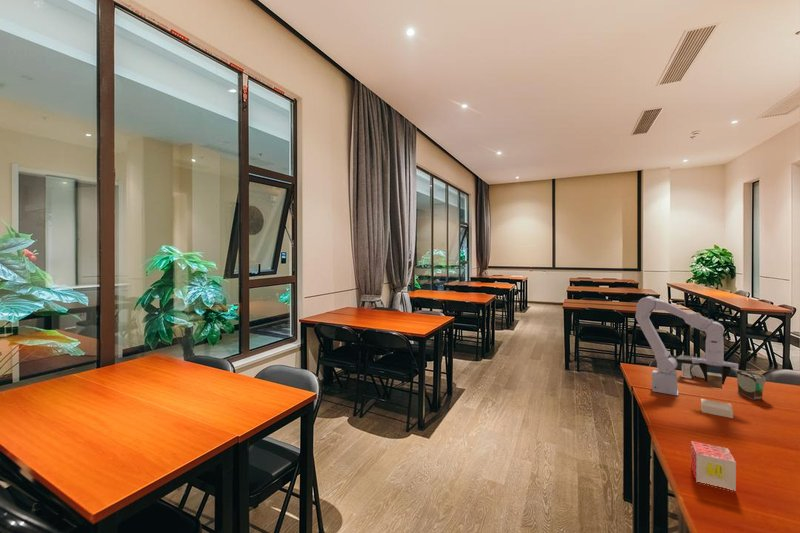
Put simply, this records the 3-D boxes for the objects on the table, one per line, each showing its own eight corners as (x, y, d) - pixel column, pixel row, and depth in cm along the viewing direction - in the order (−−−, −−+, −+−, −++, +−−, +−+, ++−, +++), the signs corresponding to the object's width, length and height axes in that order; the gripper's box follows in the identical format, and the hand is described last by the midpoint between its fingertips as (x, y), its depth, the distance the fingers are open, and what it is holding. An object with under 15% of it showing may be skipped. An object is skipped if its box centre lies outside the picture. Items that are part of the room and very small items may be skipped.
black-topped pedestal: (654, 378, 180) (654, 352, 180) (665, 367, 198) (665, 344, 198) (729, 392, 160) (729, 363, 159) (734, 379, 177) (734, 353, 177)
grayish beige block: (707, 386, 148) (707, 374, 148) (706, 383, 152) (706, 372, 152) (722, 388, 145) (722, 376, 145) (721, 385, 149) (721, 374, 149)
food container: (774, 402, 147) (774, 379, 147) (757, 401, 148) (757, 378, 148) (751, 392, 159) (751, 370, 159) (735, 391, 160) (735, 369, 160)
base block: (701, 413, 139) (701, 405, 139) (701, 405, 146) (701, 398, 146) (733, 419, 133) (733, 411, 133) (730, 411, 140) (730, 404, 140)
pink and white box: (696, 482, 95) (696, 453, 95) (690, 467, 102) (691, 440, 101) (736, 492, 91) (736, 462, 90) (727, 476, 97) (728, 448, 97)
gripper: (692, 350, 150) (692, 381, 150) (739, 355, 141) (739, 389, 141) (692, 346, 155) (691, 377, 155) (737, 352, 146) (737, 384, 146)
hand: (714, 382), depth 149 cm, fingers closed on grayish beige block, 5 cm apart
